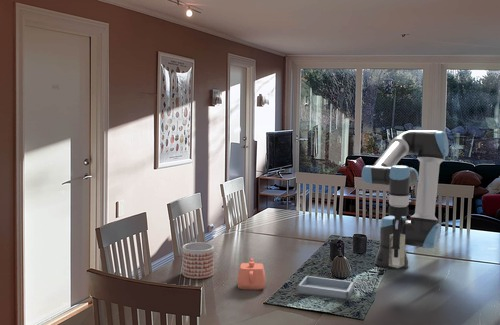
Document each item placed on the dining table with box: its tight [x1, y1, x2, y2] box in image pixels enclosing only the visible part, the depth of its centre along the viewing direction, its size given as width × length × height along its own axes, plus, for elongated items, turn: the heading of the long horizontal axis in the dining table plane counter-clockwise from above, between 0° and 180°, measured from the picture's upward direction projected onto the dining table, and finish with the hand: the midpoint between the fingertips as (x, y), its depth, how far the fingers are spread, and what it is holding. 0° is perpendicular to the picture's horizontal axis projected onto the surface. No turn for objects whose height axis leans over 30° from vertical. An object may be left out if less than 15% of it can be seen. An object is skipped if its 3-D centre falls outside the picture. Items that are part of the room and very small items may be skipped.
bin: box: [297, 275, 355, 301], centre depth 205 cm, size 13×20×3 cm, turn 69°
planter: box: [181, 241, 215, 280], centre depth 224 cm, size 14×14×13 cm
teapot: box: [237, 257, 266, 291], centre depth 210 cm, size 12×18×10 cm, turn 178°
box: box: [389, 234, 406, 268], centre depth 202 cm, size 5×4×13 cm
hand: (396, 262), depth 203 cm, fingers closed on box, 6 cm apart
